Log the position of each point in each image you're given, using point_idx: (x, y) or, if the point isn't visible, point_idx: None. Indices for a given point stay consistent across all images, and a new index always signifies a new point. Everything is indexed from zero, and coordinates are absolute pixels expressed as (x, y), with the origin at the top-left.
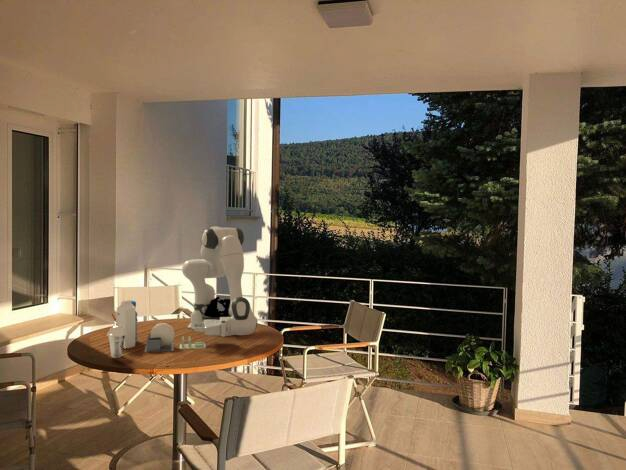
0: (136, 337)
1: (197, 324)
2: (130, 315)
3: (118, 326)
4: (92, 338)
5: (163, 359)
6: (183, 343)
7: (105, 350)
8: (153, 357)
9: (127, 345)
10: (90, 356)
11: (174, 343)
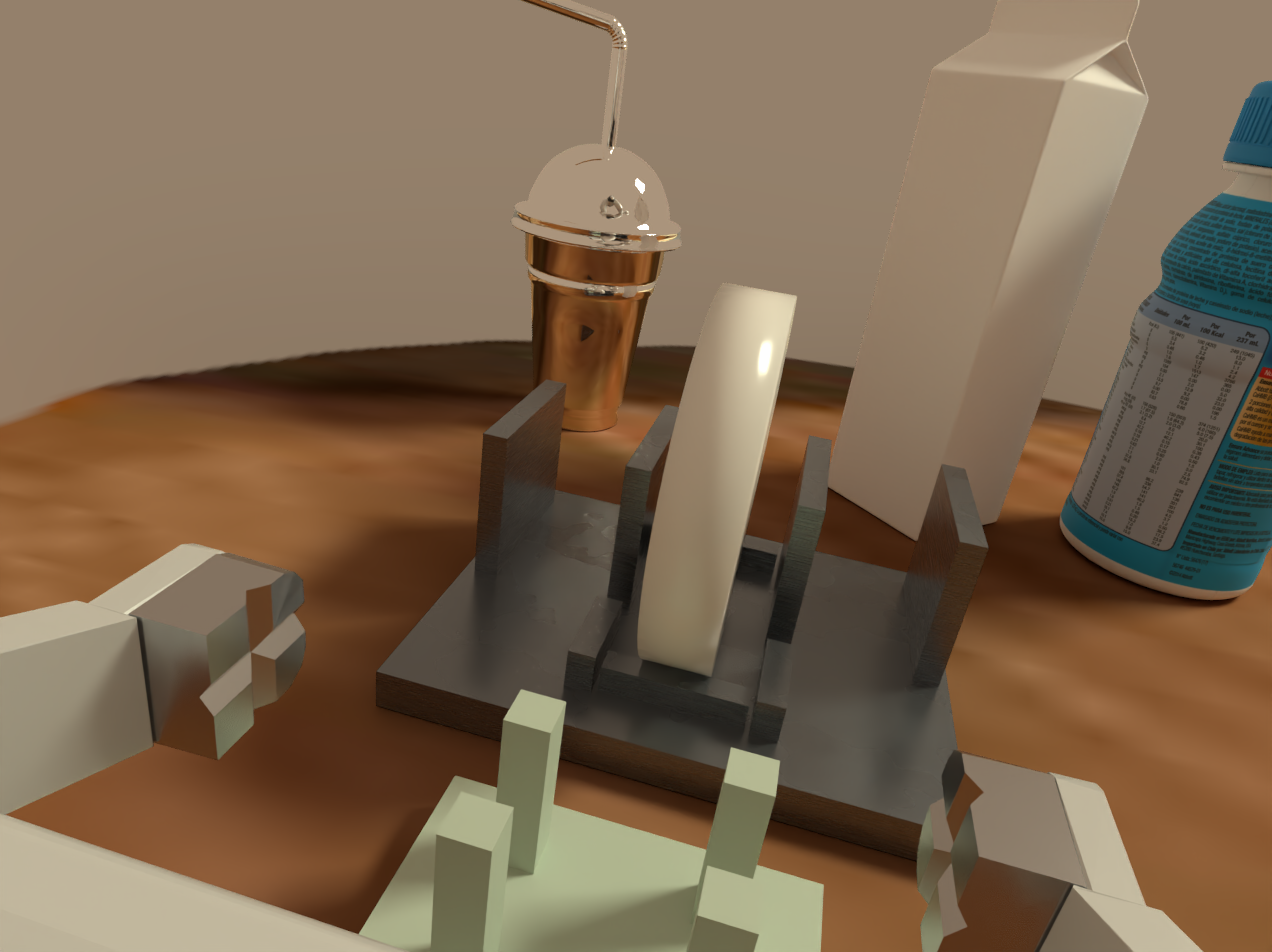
0: (1171, 550)
1: (962, 872)
2: (965, 170)
3: (576, 146)
4: None
5: (162, 552)
6: (502, 782)
7: (803, 423)
8: (342, 524)
9: (850, 472)
10: (654, 367)
11: (891, 814)
